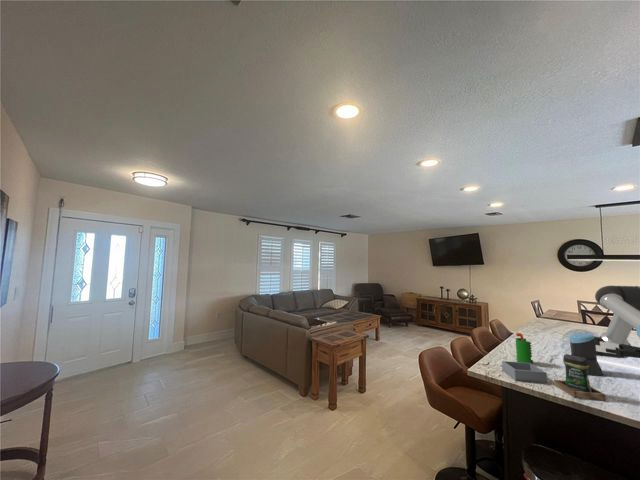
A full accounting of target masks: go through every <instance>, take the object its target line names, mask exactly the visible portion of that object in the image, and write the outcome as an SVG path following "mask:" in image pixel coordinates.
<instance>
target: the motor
mask: <svg viewBox="0 0 640 480" xmlns="http://www.w3.org/2000/svg"><path fill="white" fill-rule="evenodd" d="M515 333H516V337H517V338H515V346H516V347H515V350H516V362H522V363H531V364H533V365H534V361H533V360H532V357H533V355H532V351H533V350H532V345H531V344H532V342H530V341H527V338H524V335H523V334H522V333H520V332H515Z"/></svg>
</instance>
